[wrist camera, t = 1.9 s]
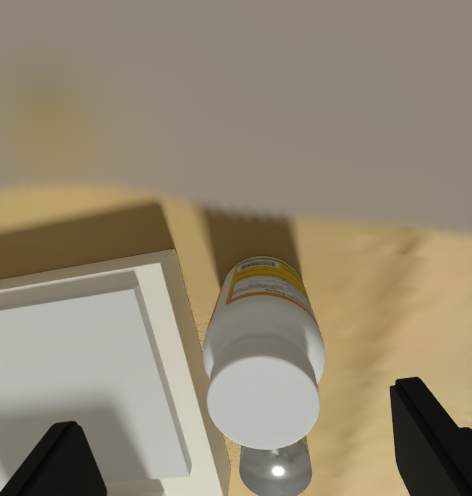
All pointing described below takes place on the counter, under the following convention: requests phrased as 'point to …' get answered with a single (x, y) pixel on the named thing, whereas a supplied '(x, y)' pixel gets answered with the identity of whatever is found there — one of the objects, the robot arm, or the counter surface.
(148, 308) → the scale
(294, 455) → the metal cylinder weight
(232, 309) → the supplement bottle
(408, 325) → the counter surface
